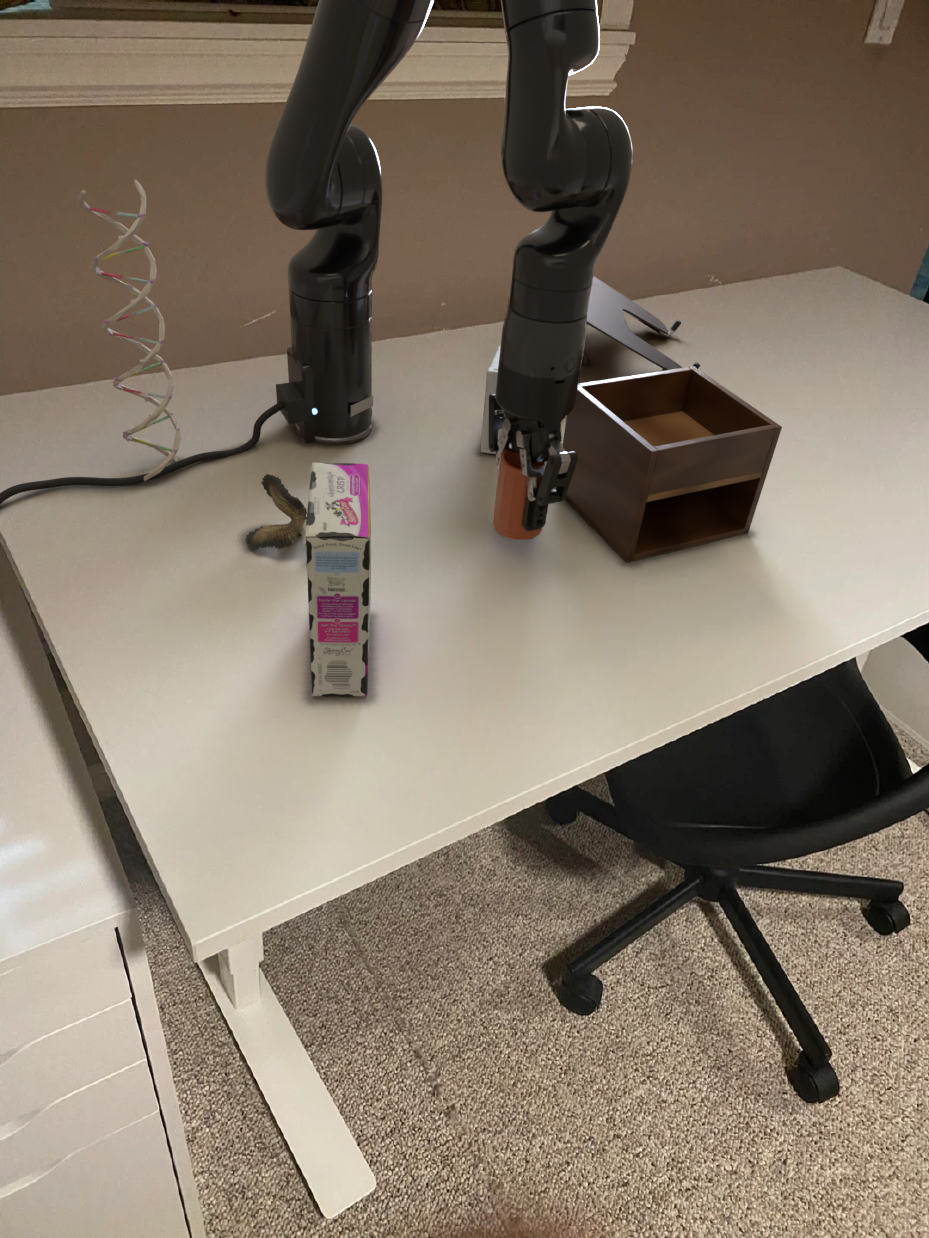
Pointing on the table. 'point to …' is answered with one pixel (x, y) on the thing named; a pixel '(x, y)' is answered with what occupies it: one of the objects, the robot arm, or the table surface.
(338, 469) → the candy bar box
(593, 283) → the laptop tray
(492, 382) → the small box
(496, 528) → the cup
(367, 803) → the table surface
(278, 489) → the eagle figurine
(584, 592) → the table surface
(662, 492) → the box
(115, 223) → the dna model
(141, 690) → the table surface
